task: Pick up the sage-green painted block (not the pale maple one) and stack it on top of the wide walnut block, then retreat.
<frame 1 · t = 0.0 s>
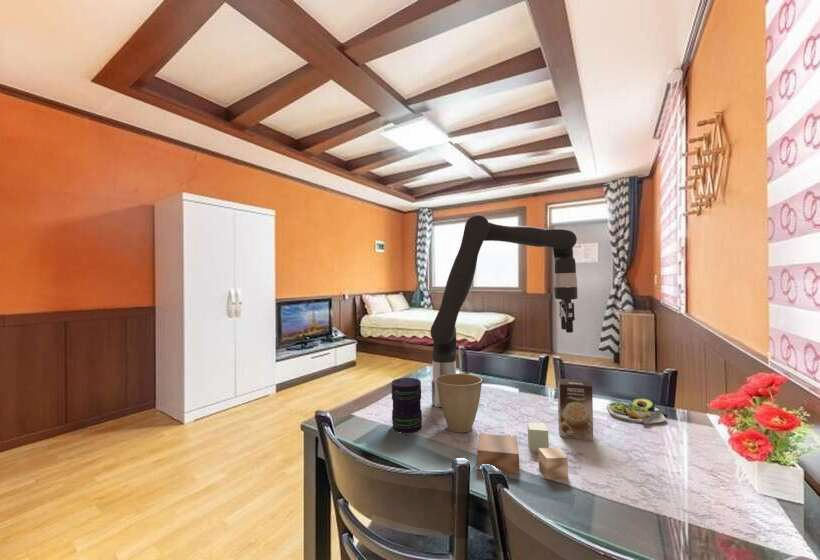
hand: (567, 330, 122), 29 cm above the table, fingers open, 8 cm apart
maple block: (553, 473, 83), on the table
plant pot: (459, 428, 110), on the table
walnut block: (498, 462, 89), on the table
coffee box: (575, 435, 103), on the table
storage jar: (407, 428, 111), on the table
sage block: (538, 447, 96), on the table
salad plate: (635, 415, 119), on the table
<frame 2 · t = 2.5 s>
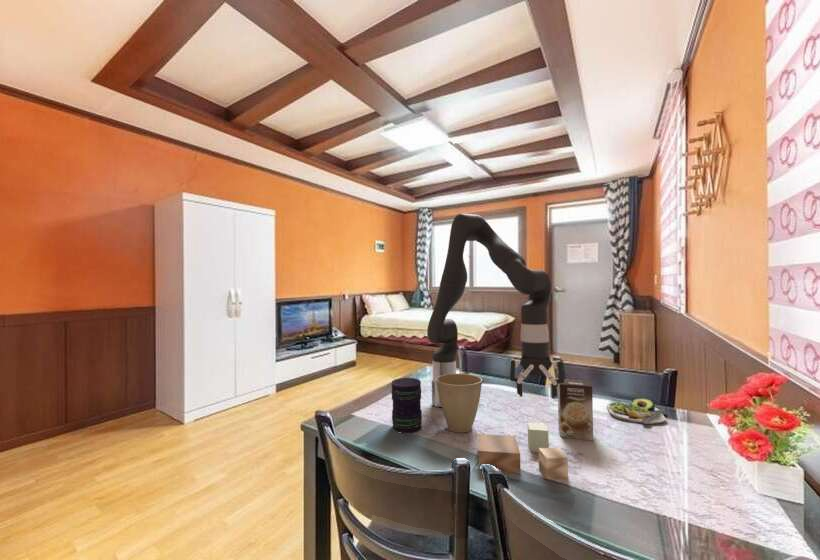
hand: (536, 396, 96), 14 cm above the table, fingers open, 8 cm apart
nothing on the table moved.
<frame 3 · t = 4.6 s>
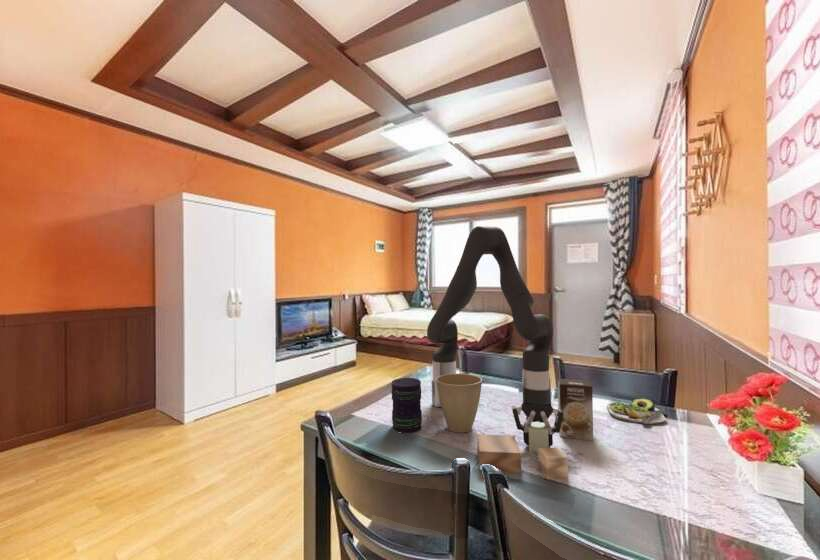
hand: (538, 445, 96), 1 cm above the table, fingers closed on sage block, 5 cm apart
sage block: (538, 447, 96), on the table, touching gripper
everything else where it was.
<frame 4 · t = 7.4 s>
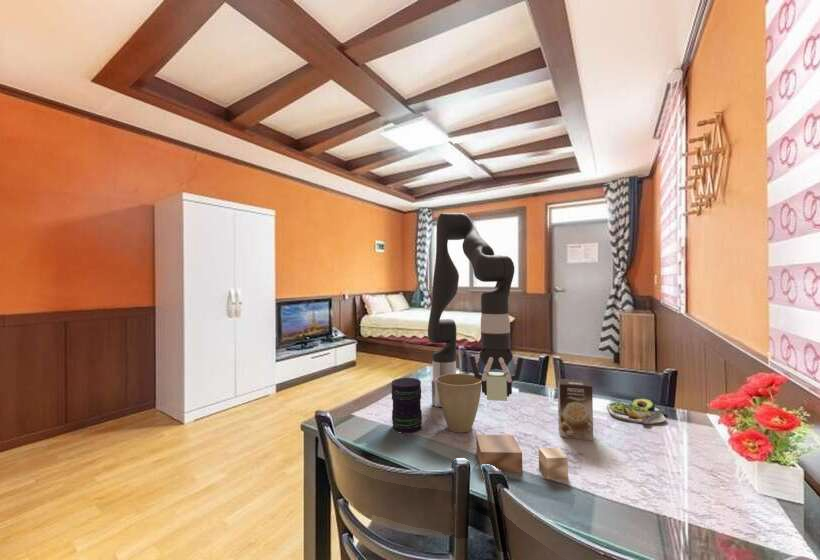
hand: (496, 394, 89), 17 cm above the table, fingers closed on sage block, 5 cm apart
sage block: (496, 397, 89), point 17 cm above the table, touching gripper
everything else where it was.
when the fingers open (7 cm above the table, at t = 10.1 s): sage block drops 2 cm, resting on walnut block.
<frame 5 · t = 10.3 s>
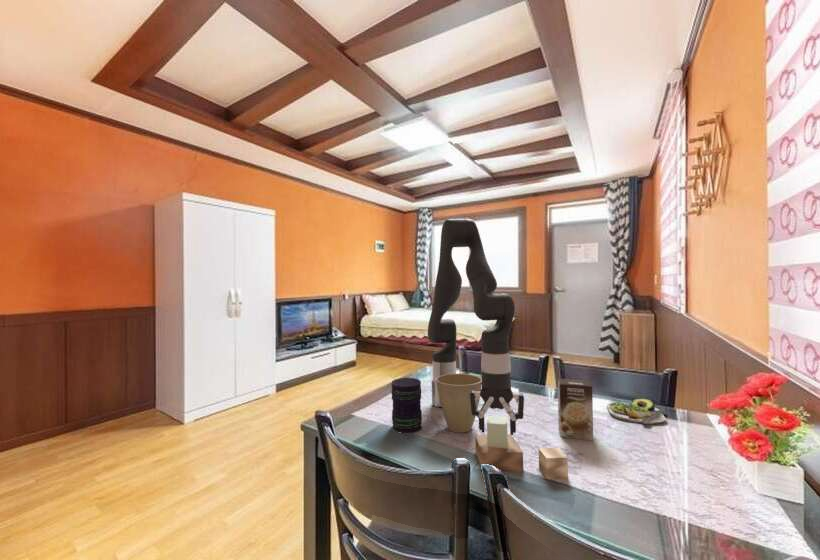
hand: (497, 432, 89), 7 cm above the table, fingers open, 6 cm apart
walnut block: (498, 462, 89), on the table, touching sage block
sage block: (497, 443, 89), point 5 cm above the table, touching walnut block
everything else where it was.
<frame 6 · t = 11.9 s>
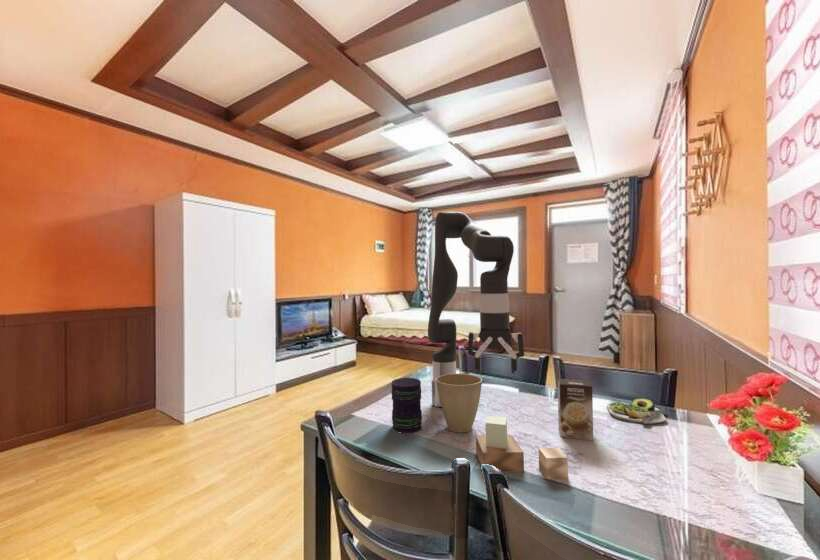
hand: (495, 372, 89), 23 cm above the table, fingers open, 8 cm apart
nothing on the table moved.
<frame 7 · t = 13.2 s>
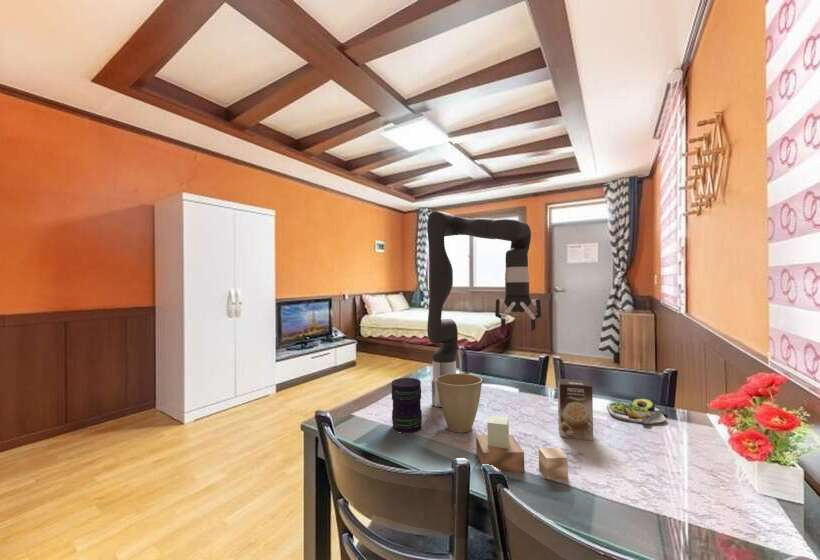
hand: (518, 330, 111), 31 cm above the table, fingers open, 8 cm apart
walnut block: (499, 462, 89), on the table
sage block: (498, 443, 89), point 5 cm above the table
everything else where it was.
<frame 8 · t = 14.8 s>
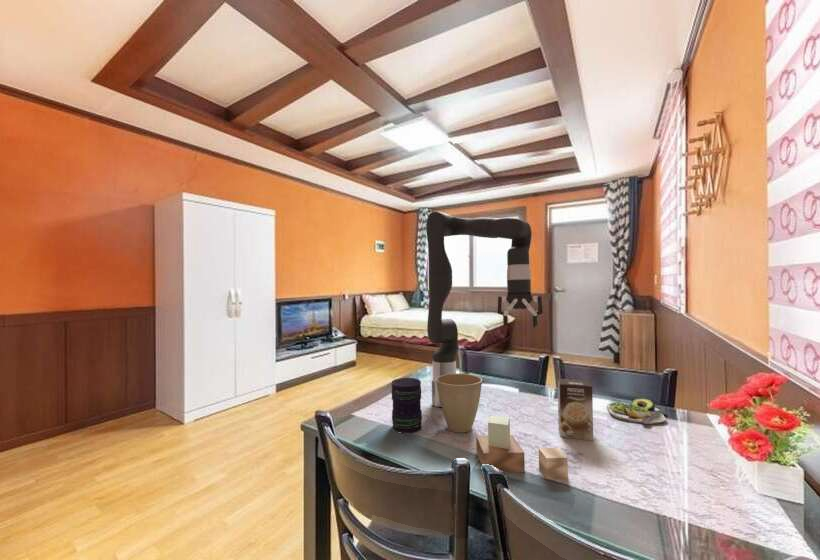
hand: (520, 327, 113), 32 cm above the table, fingers open, 8 cm apart
walnut block: (499, 462, 88), on the table, touching sage block
sage block: (499, 443, 89), point 5 cm above the table, touching walnut block
everything else where it was.
at the end: sage block 0.3 cm from the walnut block (horizontally); sage block point 4.7 cm above the table; sage block tilted 0° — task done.
